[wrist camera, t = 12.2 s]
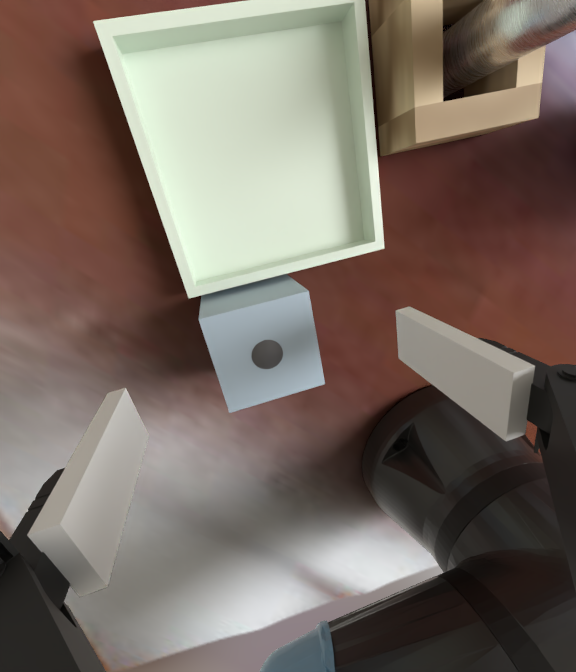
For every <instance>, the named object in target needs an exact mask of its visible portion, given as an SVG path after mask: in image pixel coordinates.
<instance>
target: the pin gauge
mask: <svg viewBox="0 0 576 672" xmlns="http://www.w3.org/2000/svg"><path fill="white" fill-rule="evenodd" d="M574 30H576V0H484V1H483V2H482V3H480V4H479V5H478V6H477V7H475V8H474V9H473V10H472V11H470V12H469V13H468V14H467V15H465V16H464V17H463V18H462V19H460V20H459V21H458V22H457V23H455V24H454V25H453V26H451V27H450V28H449V29H448V30H446V31H445V32H444V33H443V98H444V97H446V96H448V95H450V94H452V93H454V92H456V91H458V90H460V89H462V88H464V87H466V86H467V85H469V84H471V83H473V82H475V81H477V80H479V79H481V78H483V77H485V76H487V75H489V74H491V73H493V72H495V71H497V70H498V69H500V68H502V67H504V66H506V65H508V64H510V63H512V62H514V61H516V60H518V59H520V58H522V57H524V56H526V55H528V54H529V53H531V52H533V51H535V50H537V49H539V48H541V47H543V46H545V45H547V44H549V43H551V42H553V41H555V40H557V39H559V38H560V37H562V36H564V35H566V34H568V33H570V32H572V31H574Z"/></svg>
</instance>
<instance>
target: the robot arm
mask: <svg viewBox="0 0 576 672" xmlns="http://www.w3.org/2000/svg"><path fill="white" fill-rule="evenodd" d="M396 324H397V340H398V356H399V359H400V360H401V361H403V362H404V363H405V364H406V365H408V366H409V367H410V368H412V369H413V370H414V371H416V372H417V373H418V374H419V375H421V376H422V377H423V378H425V379H426V380H427V381H428V382H430V383H431V384H432V385H433V386H430V387H427V388H424V389H422V390H420V391H417V392H415V393H413V394H412V395H410V396H408V397H407V398H405V399H403V400H402V401H401V402H399V403H398V404H397V405H396V406H394V407H393V408H392V409H391V410H390V411H389V412H388V413H387V414H386V415H385V416H384V417H383V418H382V419H381V420H380V422H379V423H378V424H377V426H376V427H375V429H374V430H373V432H372V434H371V435H370V437H369V439H368V442H367V444H366V447H365V450H364V453H363V459H362V474H363V478H364V481H365V484H366V486H367V487H368V489H369V491H370V493H371V494H372V496H373V498H374V499H375V501H376V503H377V504H378V506H379V507H380V508H381V509H382V510H383V511H384V512H385V513H386V514H387V515H388V516H389V517H390V518H391V519H392V520H394V521H395V522H396V523H397V524H398V525H399V526H400V527H401V528H403V529H404V530H405V531H406V532H407V533H408V534H409V535H410V536H412V537H413V538H414V539H415V540H416V541H417V542H418V543H419V544H421V545H422V546H423V547H424V548H425V549H426V550H427V551H428V552H430V553H431V555H432V556H433V557H434V559H435V560H436V561H437V563H438V564H439V566H440V567H441V569H442V570H443V572H444V573H442V574H440V575H438V576H435V577H432V578H430V579H428V580H425V581H423V582H421V583H418V584H416V585H414V586H411V587H409V588H407V589H405V590H402V591H400V592H398V593H395V594H393V595H391V596H388V597H386V598H384V599H381V600H379V601H377V602H374V603H372V604H370V605H367V606H365V607H363V608H361V609H358V610H356V611H353V612H351V613H349V614H346V615H344V616H342V617H340V618H337V619H335V620H333V621H330V622H327V621H322V622H320V623H319V624H318V625H317V626H316V629H314V630H312V631H310V632H309V633H307V634H305V635H303V636H301V637H299V638H297V639H296V640H293V641H292V642H290V643H288V644H286V645H284V646H282V647H280V648H278V649H277V650H276V651H274V652H273V653H272V654H271V655H270V656H269V657H268V658H267V659H266V661H265V662H264V664H263V666H262V667H261V670H260V672H576V365H570V364H558V365H554V366H548V365H546V364H544V363H542V362H540V361H537V360H535V359H533V358H531V357H529V356H526V355H524V354H522V353H520V352H516V351H515V350H513V349H511V348H507V347H506V346H504V345H502V344H500V343H498V342H495V341H492V340H487V339H483V338H478V339H477V338H475V337H473V336H471V335H469V334H467V333H465V332H462V331H460V330H458V329H456V328H454V327H452V326H450V325H448V324H446V323H443V322H441V321H439V320H437V319H435V318H433V317H431V316H429V315H426V314H424V313H422V312H420V311H418V310H416V309H414V308H412V307H406V308H403V309H399V310H396ZM527 420H528V421H530V422H531V423H533V424H534V425H536V426H537V433H536V439H535V446H534V445H533V444H532V443H531V442H530V440H529V439H528V438H527V437H526V435H525V432H526V425H527ZM148 438H149V434H148V432H147V430H146V428H145V426H144V424H143V422H142V420H141V418H140V416H139V414H138V412H137V410H136V408H135V406H134V404H133V402H132V400H131V398H130V396H129V394H128V392H127V390H126V388H123V389H120V390H116V391H113V392H109V393H107V395H106V397H105V399H104V400H103V402H102V404H101V406H100V407H99V409H98V411H97V413H96V415H95V416H94V418H93V420H92V422H91V423H90V425H89V427H88V429H87V430H86V432H85V434H84V436H83V437H82V439H81V441H80V443H79V445H78V446H77V448H76V450H75V452H74V453H73V455H72V457H71V459H70V460H69V462H68V464H67V466H66V467H65V468H63V469H60V470H57V471H56V472H55V473H54V474H53V475H52V476H51V477H50V478H49V479H48V480H47V481H46V482H45V483H44V484H43V486H42V488H41V489H40V491H39V493H38V494H37V496H36V497H35V500H34V501H33V502H32V504H31V506H30V507H29V509H28V512H26V514H25V515H24V517H23V519H22V520H21V522H20V524H19V525H18V527H17V528H16V530H15V532H14V533H13V535H12V537H11V538H10V540H8V539H7V538H6V537H5V536H4V534H3V533H2V532H1V531H0V672H106V671H105V669H104V667H103V666H102V664H101V662H100V660H99V659H98V657H97V655H96V653H95V652H94V650H93V648H92V647H91V645H90V643H89V641H88V640H87V638H86V636H85V634H84V633H83V631H82V629H81V627H80V626H79V624H78V622H77V621H76V619H75V617H74V615H73V614H72V612H71V610H70V608H69V607H68V606H67V605H66V604H65V603H64V600H65V597H66V594H67V592H68V589H69V586H71V588H72V589H73V590H74V591H75V592H76V594H77V595H78V596H79V597H82V596H85V595H88V594H90V593H93V592H96V591H99V590H101V589H104V588H107V587H108V585H109V581H110V577H111V574H112V570H113V567H114V563H115V559H116V556H117V552H118V548H119V545H120V541H121V537H122V534H123V530H124V526H125V523H126V519H127V515H128V512H129V508H130V504H131V501H132V497H133V493H134V490H135V486H136V482H137V479H138V475H139V471H140V468H141V464H142V460H143V457H144V453H145V449H146V446H147V442H148ZM539 448H540V452H541V454H540V453H539V452H538V449H539Z"/></svg>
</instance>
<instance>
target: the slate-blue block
mask: <svg viewBox="0 0 576 672" xmlns="http://www.w3.org/2000/svg"><path fill="white" fill-rule="evenodd" d="M199 322H200V325H201V328H202V331H203V334H204V337H205V340H206V343H207V346H208V349H209V352H210V355H211V358H212V361H213V364H214V367H215V370H216V373H217V376H218V379H219V382H220V385H221V388H222V391H223V394H224V397H225V400H226V403H227V406H228V409H229V412H230V413H231V412H235V411H238V410H241V409H244V408H248V407H251V406H254V405H258V404H261V403H264V402H267V401H271V400H274V399H277V398H281V397H284V396H287V395H290V394H294V393H297V392H300V391H304V390H307V389H310V388H313V387H317V386H320V385H323V384H325V381H324V375H323V370H322V364H321V358H320V353H319V347H318V341H317V336H316V330H315V324H314V319H313V313H312V307H311V302H310V296H309V291H308V290H307V289H305V288H304V287H303V286H301V285H300V284H299V283H297V282H296V281H295V280H293V279H292V278H291V277H290V276H288V275H287V274H283V275H279V276H275V277H271V278H267V279H263V280H260V281H256V282H252V283H248V284H244V285H240V286H236V287H232V288H228V289H224V290H220V291H217V292H213V293H209V294H205V295H201V303H200V312H199Z"/></svg>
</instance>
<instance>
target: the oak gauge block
mask: <svg viewBox="0 0 576 672" xmlns="http://www.w3.org/2000/svg"><path fill="white" fill-rule="evenodd" d="M483 1H484V0H369V12H370V26H371V39H372V52H373V65H374V79H375V92H376V105H377V118H378V132H379V145H380V156H385V155H390V154H395V153H399V152H404V151H409V150H413V149H418V148H423V147H427V146H432V145H437V144H441V143H446V142H451V141H456V140H460V139H465V138H470V137H474V136H479V135H484V134H487V133H490V132H494V131H497V130H500V129H504V128H507V127H510V126H513V125H517V124H520V123H523V122H526V121H530V120H533V119H536V118H539V109H540V98H541V88H542V78H543V68H544V57H545V47H546V45H545V46H543V47H541V48H539V49H537V50H535V51H533V52H531V53H529V54H528V55H526V56H524V57H522V58H520V59H518V60H516V61H514V62H512V63H510V64H508V65H506V66H504V67H502V68H500V69H498V70H497V71H495V72H493V73H491V74H489V75H487V76H485V77H483V78H481V79H479V80H477V81H475V82H473V83H471V84H469V85H467V86H466V87H464V98H460V99H455V100H449V101H444V102H443V25H450V24H455V23H457V22H458V21H459V20H460V19H462V18H463V17H464V16H465V15H467V14H468V13H469V12H470V11H472V10H473V9H474V8H475V7H477V6H478V5H479V4H480V3H482V2H483Z"/></svg>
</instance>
